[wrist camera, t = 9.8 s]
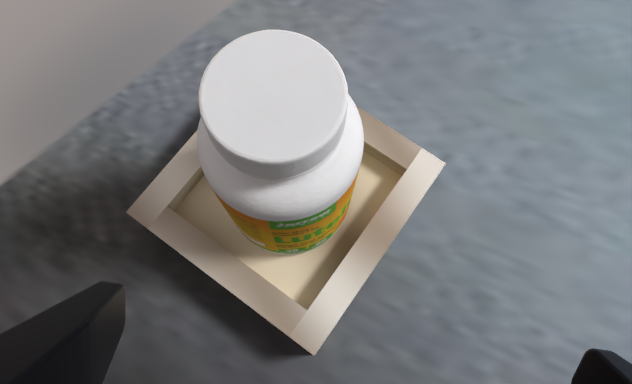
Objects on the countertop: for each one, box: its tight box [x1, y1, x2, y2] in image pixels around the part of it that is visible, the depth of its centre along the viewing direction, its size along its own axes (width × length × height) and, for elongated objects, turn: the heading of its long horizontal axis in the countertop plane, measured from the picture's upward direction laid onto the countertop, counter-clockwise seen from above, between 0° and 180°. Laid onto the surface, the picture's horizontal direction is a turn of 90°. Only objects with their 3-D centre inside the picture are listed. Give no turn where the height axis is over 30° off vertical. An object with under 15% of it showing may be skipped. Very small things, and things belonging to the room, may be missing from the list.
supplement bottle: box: [197, 30, 364, 255], centre depth 17 cm, size 5×5×10 cm
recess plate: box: [126, 106, 446, 356], centre depth 22 cm, size 10×10×2 cm
